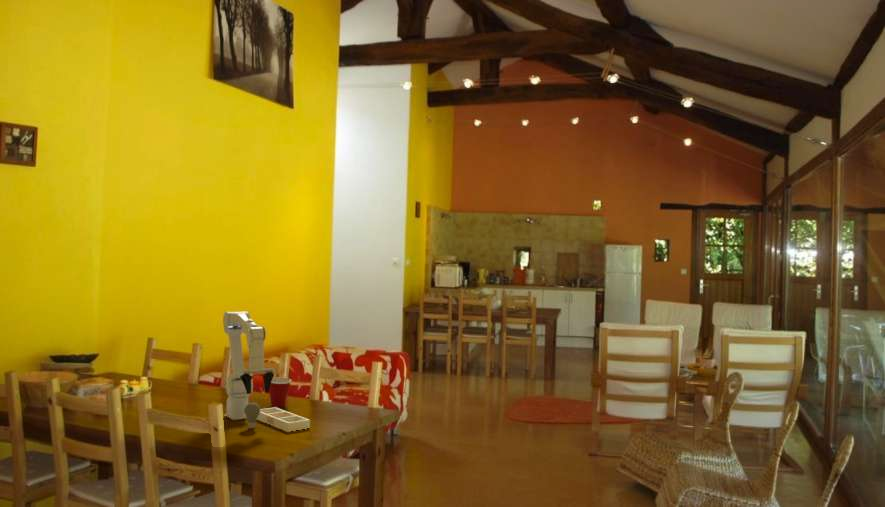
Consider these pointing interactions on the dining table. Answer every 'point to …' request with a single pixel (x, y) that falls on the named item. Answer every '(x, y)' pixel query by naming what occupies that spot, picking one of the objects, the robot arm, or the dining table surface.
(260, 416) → the rack
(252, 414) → the light bulb
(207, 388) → the dining table surface
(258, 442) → the dining table surface
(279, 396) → the plastic cup
